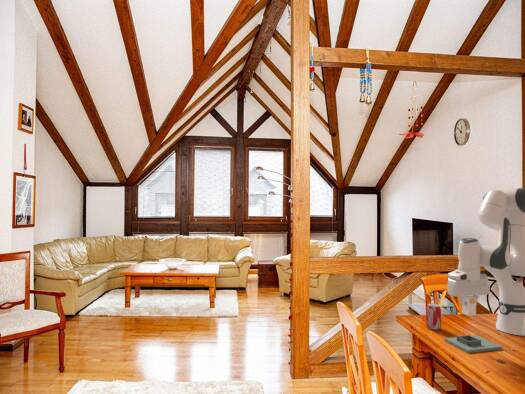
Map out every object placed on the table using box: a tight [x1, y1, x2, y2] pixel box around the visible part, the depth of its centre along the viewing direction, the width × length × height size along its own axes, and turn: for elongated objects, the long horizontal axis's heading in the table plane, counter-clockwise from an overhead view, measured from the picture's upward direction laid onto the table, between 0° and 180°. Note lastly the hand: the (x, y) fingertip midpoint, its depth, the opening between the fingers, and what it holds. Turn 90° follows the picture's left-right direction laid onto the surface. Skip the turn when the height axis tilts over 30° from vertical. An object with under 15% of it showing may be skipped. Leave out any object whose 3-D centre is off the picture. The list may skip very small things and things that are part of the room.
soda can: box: [425, 302, 442, 331], centre depth 189 cm, size 7×7×12 cm
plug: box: [461, 295, 477, 317], centre depth 166 cm, size 4×4×8 cm
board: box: [444, 334, 503, 354], centre depth 167 cm, size 18×14×3 cm
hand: (468, 304), depth 167 cm, fingers closed on plug, 4 cm apart
